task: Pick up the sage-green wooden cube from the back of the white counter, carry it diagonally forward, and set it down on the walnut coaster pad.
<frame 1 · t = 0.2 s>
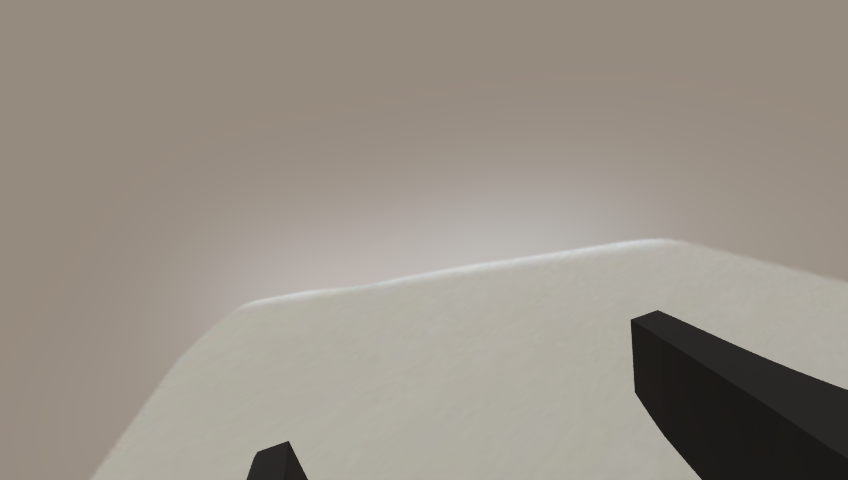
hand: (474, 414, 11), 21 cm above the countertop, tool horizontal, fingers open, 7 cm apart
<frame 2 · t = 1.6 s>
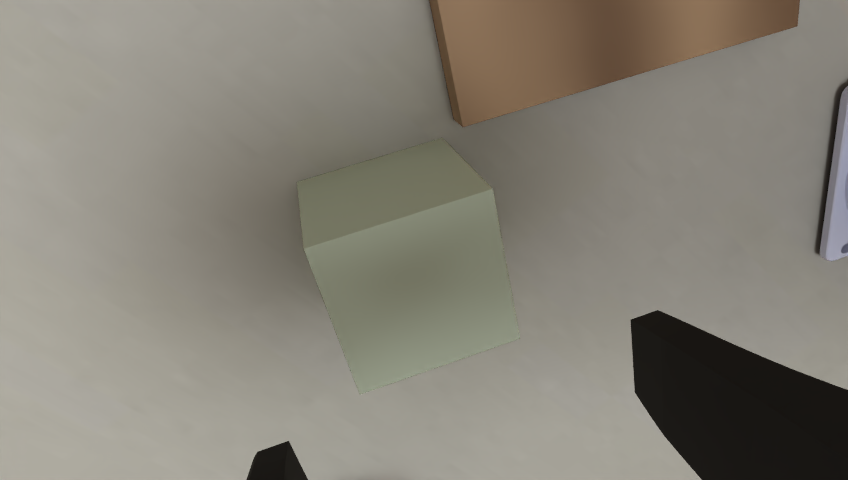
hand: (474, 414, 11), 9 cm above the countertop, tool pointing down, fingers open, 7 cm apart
sage cube: (389, 224, 19), on the countertop
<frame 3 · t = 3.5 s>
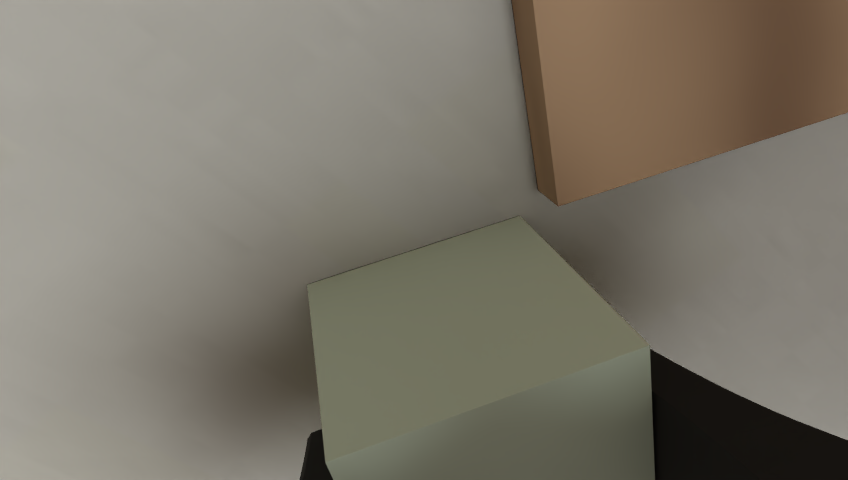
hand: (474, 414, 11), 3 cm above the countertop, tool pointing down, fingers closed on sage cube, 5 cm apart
sage cube: (439, 335, 14), on the countertop, touching gripper
when the fingers open (5 cm above the countertop, at t = 9.2 s): sage cube drops 1 cm, resting on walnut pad.
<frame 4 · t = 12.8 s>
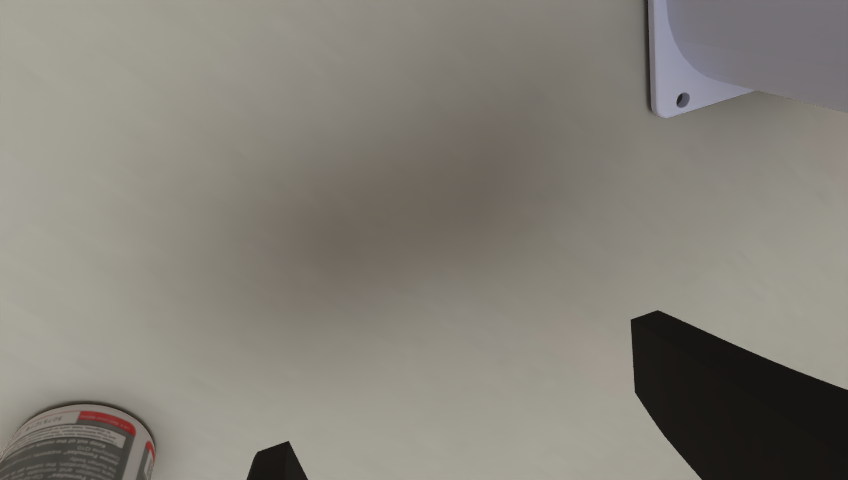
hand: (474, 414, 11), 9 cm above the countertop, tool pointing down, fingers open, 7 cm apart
pill bottle: (88, 446, 21), on the countertop
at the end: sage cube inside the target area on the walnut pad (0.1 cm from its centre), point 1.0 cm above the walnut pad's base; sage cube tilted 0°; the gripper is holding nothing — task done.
